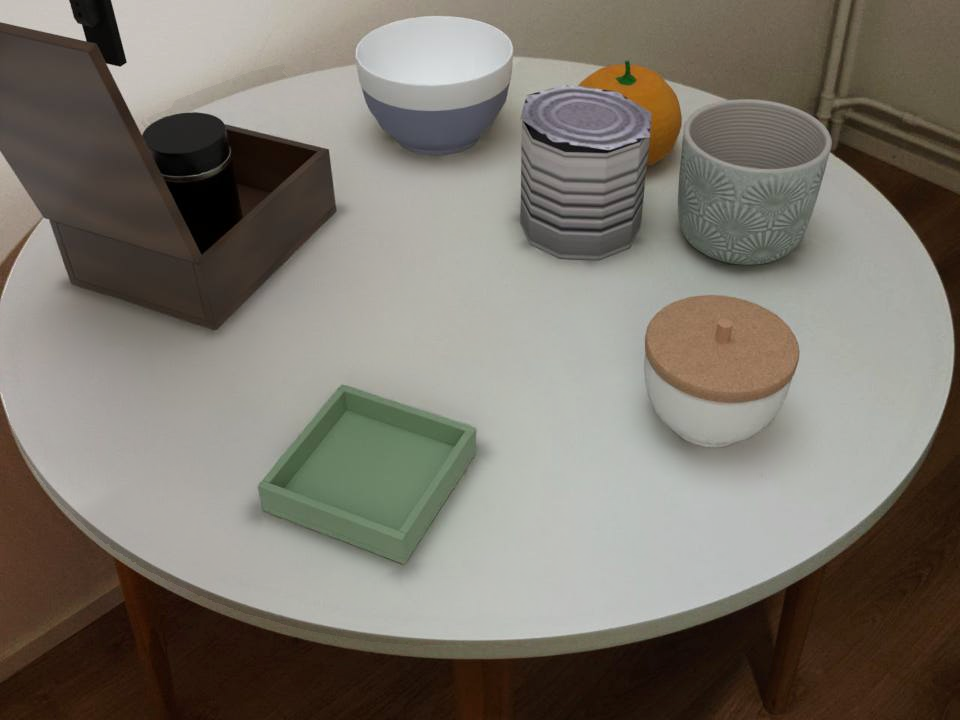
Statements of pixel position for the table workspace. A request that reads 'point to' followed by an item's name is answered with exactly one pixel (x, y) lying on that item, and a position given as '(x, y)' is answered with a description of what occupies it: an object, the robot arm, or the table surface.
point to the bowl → (435, 80)
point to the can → (582, 171)
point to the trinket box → (718, 368)
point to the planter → (750, 179)
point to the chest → (236, 255)
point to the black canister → (197, 172)
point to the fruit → (644, 102)
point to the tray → (369, 472)
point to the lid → (82, 144)
